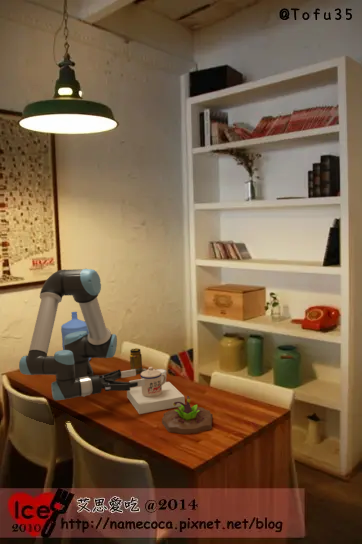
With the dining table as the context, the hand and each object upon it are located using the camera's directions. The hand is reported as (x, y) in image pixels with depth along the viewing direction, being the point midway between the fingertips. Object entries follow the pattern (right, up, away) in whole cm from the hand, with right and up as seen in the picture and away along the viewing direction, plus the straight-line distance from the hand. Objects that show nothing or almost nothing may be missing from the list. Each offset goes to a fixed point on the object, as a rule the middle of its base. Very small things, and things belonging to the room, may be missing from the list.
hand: (140, 377), depth 204 cm
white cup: (+8, -9, +23) cm, 26 cm away
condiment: (-5, -7, +44) cm, 45 cm away
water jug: (-42, -6, +69) cm, 81 cm away
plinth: (+6, -11, +4) cm, 14 cm away
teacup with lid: (+6, -8, +3) cm, 10 cm away
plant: (+20, -14, -19) cm, 31 cm away
